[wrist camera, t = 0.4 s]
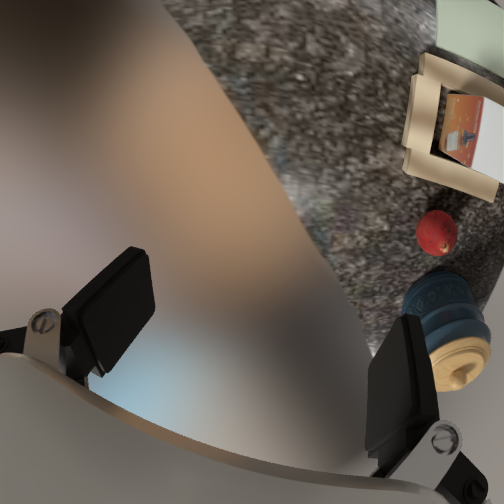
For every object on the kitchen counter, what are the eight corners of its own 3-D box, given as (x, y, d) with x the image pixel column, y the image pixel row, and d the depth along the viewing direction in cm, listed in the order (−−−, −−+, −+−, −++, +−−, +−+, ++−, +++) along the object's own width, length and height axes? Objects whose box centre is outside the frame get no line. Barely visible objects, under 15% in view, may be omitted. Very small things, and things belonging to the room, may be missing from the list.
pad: (434, -23, 16) (435, -25, 15) (505, 12, 14) (507, 12, 13) (435, 46, 22) (436, 45, 22) (506, 81, 20) (508, 81, 19)
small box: (446, 92, 25) (484, 93, 16) (480, 108, 24) (522, 115, 15) (436, 149, 29) (469, 169, 20) (470, 162, 28) (507, 186, 19)
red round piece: (423, 194, 33) (442, 217, 26) (453, 213, 32) (475, 239, 26) (403, 229, 36) (416, 258, 29) (433, 246, 35) (449, 276, 29)
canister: (387, 295, 42) (397, 387, 27) (454, 253, 35) (496, 337, 20) (417, 339, 44) (428, 421, 30) (476, 305, 37) (506, 384, 23)
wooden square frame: (413, 53, 24) (419, 50, 22) (510, 96, 21) (519, 97, 19) (396, 167, 32) (400, 171, 30) (489, 198, 29) (496, 204, 27)
